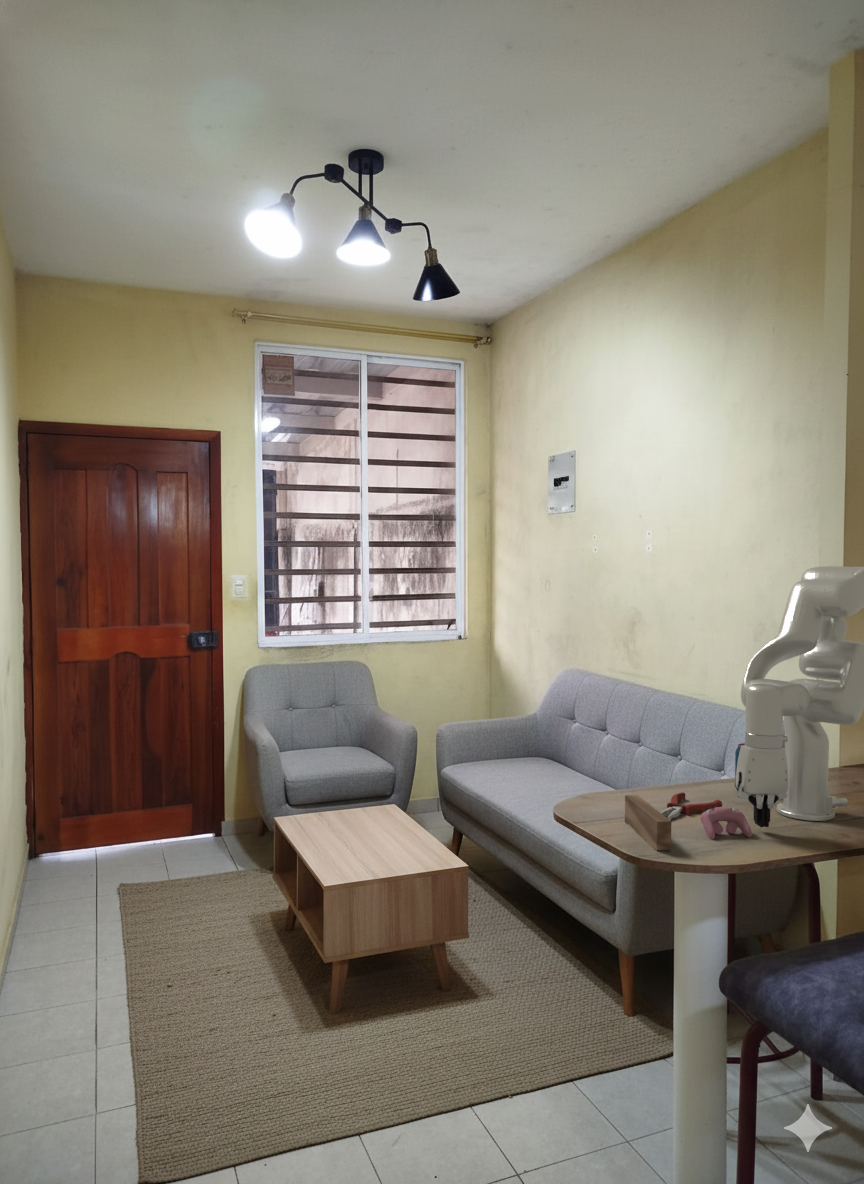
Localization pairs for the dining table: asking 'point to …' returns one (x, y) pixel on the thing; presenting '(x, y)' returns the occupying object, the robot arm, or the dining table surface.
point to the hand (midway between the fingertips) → (761, 825)
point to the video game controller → (730, 815)
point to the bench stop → (648, 822)
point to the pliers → (687, 807)
